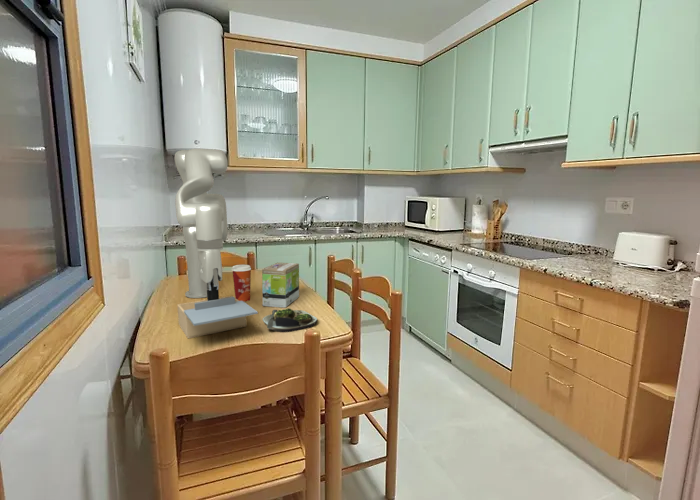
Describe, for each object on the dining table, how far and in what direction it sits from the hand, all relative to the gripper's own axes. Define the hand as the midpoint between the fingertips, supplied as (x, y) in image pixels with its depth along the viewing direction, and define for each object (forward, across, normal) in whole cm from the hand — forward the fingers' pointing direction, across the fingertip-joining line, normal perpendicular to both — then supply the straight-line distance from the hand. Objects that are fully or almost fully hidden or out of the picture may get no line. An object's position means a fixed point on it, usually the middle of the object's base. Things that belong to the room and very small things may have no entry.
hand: (213, 301), depth 118 cm
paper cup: (+9, -26, +18) cm, 33 cm away
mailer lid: (+2, +8, 0) cm, 8 cm away
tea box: (+9, -15, +30) cm, 35 cm away
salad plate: (+10, +9, +22) cm, 26 cm away
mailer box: (+9, -3, 0) cm, 9 cm away
